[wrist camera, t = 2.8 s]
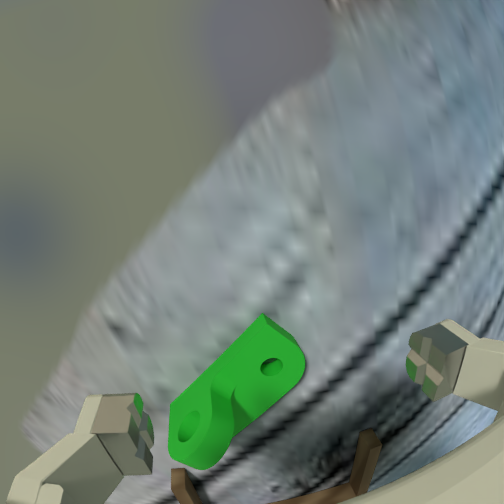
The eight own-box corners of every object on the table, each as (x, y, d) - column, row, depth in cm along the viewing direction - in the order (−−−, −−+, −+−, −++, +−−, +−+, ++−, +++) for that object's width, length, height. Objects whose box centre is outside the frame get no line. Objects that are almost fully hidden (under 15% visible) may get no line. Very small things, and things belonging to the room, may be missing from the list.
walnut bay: (371, 427, 31) (382, 444, 28) (357, 483, 34) (364, 497, 32) (171, 468, 28) (171, 489, 25) (199, 516, 32) (200, 533, 29)
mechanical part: (221, 429, 27) (231, 494, 20) (170, 402, 25) (167, 472, 18) (311, 349, 26) (348, 409, 18) (261, 311, 24) (288, 373, 17)
